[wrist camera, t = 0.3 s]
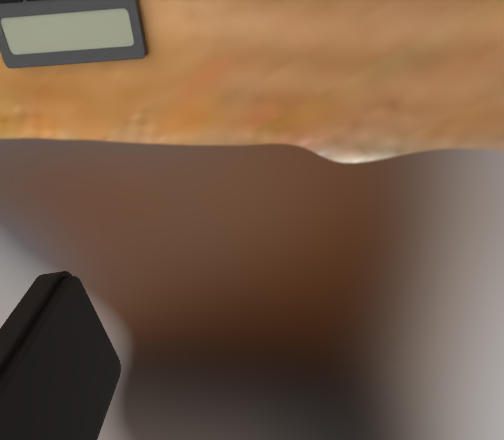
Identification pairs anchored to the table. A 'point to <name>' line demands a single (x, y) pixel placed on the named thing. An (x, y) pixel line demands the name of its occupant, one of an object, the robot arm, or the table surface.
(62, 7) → the calculator
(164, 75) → the table surface
